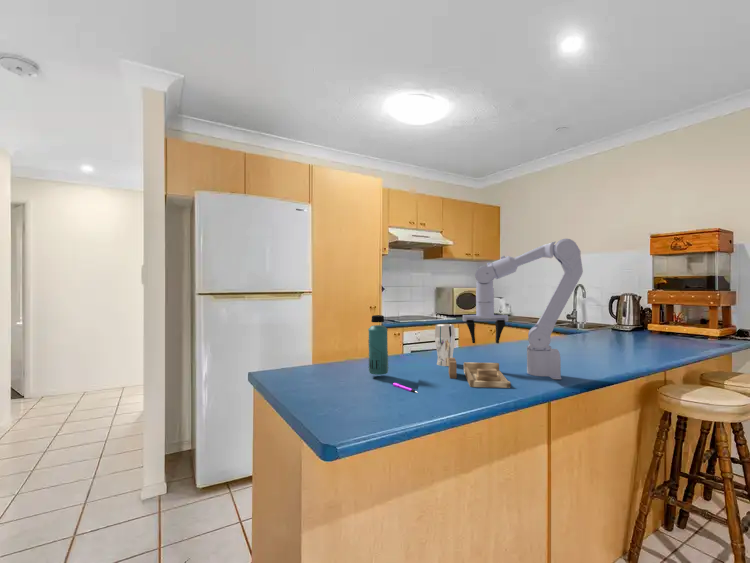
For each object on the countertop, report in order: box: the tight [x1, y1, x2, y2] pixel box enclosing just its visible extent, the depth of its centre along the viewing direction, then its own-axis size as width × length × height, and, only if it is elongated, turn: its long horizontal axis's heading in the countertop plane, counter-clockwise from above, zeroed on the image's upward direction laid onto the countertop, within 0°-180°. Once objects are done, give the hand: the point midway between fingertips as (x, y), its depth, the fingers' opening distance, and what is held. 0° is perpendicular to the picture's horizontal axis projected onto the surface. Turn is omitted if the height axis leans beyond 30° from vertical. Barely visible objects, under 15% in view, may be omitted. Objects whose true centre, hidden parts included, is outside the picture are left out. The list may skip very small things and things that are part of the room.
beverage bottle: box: [367, 314, 389, 376], centre depth 124 cm, size 6×7×20 cm
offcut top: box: [477, 369, 497, 377], centre depth 110 cm, size 5×2×2 cm, turn 86°
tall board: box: [448, 357, 458, 379], centre depth 121 cm, size 7×2×6 cm, turn 173°
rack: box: [463, 361, 512, 389], centre depth 116 cm, size 11×18×4 cm, turn 172°
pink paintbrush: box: [392, 382, 419, 394], centre depth 108 cm, size 3×1×16 cm
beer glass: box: [434, 323, 456, 367], centre depth 137 cm, size 7×7×15 cm
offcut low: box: [476, 375, 501, 381], centre depth 110 cm, size 6×2×2 cm, turn 82°
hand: (485, 342), depth 128 cm, fingers open, 7 cm apart
